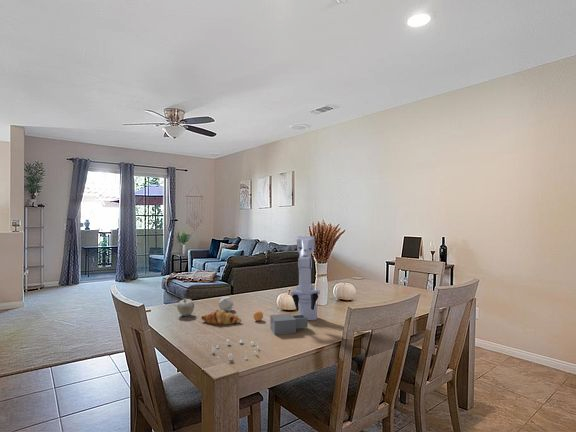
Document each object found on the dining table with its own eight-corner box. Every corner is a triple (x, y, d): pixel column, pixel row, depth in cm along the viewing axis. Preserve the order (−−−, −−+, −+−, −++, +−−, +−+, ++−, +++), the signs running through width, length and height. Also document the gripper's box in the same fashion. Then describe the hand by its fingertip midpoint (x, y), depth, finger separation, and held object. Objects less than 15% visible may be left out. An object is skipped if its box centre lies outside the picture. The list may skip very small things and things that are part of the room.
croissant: (242, 328, 179) (244, 313, 183) (238, 325, 170) (240, 308, 174) (203, 326, 181) (205, 310, 185) (196, 322, 173) (199, 306, 176)
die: (226, 314, 193) (236, 299, 196) (213, 306, 195) (223, 291, 198) (228, 316, 201) (237, 301, 204) (216, 308, 202) (225, 293, 205)
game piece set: (245, 366, 127) (245, 355, 127) (200, 357, 135) (200, 347, 135) (269, 347, 145) (269, 338, 145) (228, 340, 153) (228, 332, 153)
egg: (262, 318, 184) (262, 309, 184) (263, 321, 179) (263, 312, 179) (252, 319, 182) (252, 310, 182) (254, 322, 178) (254, 312, 178)
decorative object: (192, 312, 195) (192, 295, 195) (195, 316, 187) (195, 298, 187) (176, 314, 191) (176, 296, 191) (178, 319, 183) (178, 300, 183)
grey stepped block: (302, 325, 173) (302, 312, 173) (308, 332, 163) (308, 318, 163) (270, 327, 169) (270, 314, 169) (274, 334, 159) (274, 321, 159)
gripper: (292, 284, 162) (292, 313, 162) (321, 282, 166) (321, 311, 166) (288, 281, 169) (288, 309, 169) (317, 279, 173) (317, 307, 173)
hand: (304, 309), depth 168 cm, fingers open, 7 cm apart
